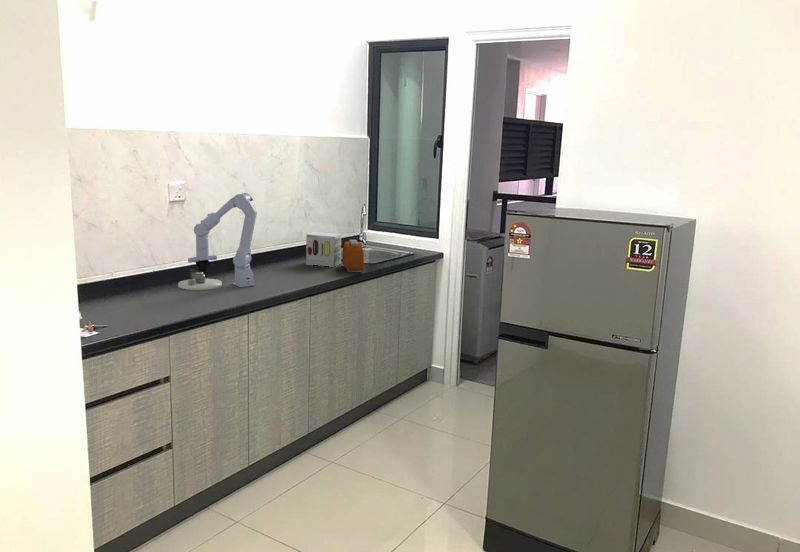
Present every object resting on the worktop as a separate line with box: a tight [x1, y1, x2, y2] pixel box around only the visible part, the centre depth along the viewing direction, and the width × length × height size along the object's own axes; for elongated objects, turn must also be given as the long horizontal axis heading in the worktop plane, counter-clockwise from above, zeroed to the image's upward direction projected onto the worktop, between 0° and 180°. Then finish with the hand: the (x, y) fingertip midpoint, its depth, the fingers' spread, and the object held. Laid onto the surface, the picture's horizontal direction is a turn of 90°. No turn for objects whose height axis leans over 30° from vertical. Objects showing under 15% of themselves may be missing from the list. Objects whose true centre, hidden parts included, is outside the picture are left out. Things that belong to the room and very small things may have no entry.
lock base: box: [177, 278, 223, 291], centre depth 308 cm, size 20×20×4 cm
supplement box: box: [305, 231, 342, 268], centre depth 372 cm, size 17×13×18 cm
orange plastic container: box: [341, 239, 365, 273], centre depth 361 cm, size 23×9×17 cm, turn 12°
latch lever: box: [189, 268, 206, 283], centre depth 311 cm, size 12×4×5 cm, turn 41°
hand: (203, 275), depth 315 cm, fingers closed
